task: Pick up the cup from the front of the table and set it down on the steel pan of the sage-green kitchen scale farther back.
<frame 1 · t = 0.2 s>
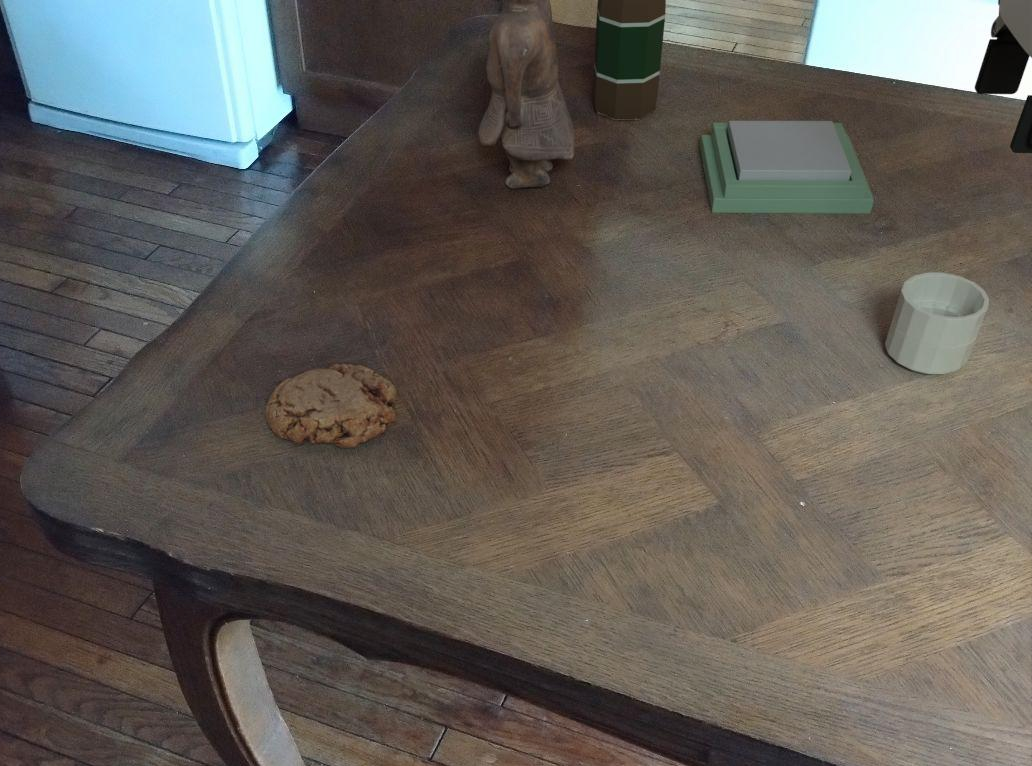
hand: (1012, 120, 80), 19 cm above the table, tool pointing down, fingers open, 9 cm apart
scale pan: (786, 150, 110), point 3 cm above the table, slide at 0.0 cm
clay figurine: (527, 180, 114), on the table
scale: (781, 179, 113), on the table
cup: (924, 354, 91), on the table
beer bottle: (623, 109, 125), on the table
cookie: (334, 418, 87), on the table
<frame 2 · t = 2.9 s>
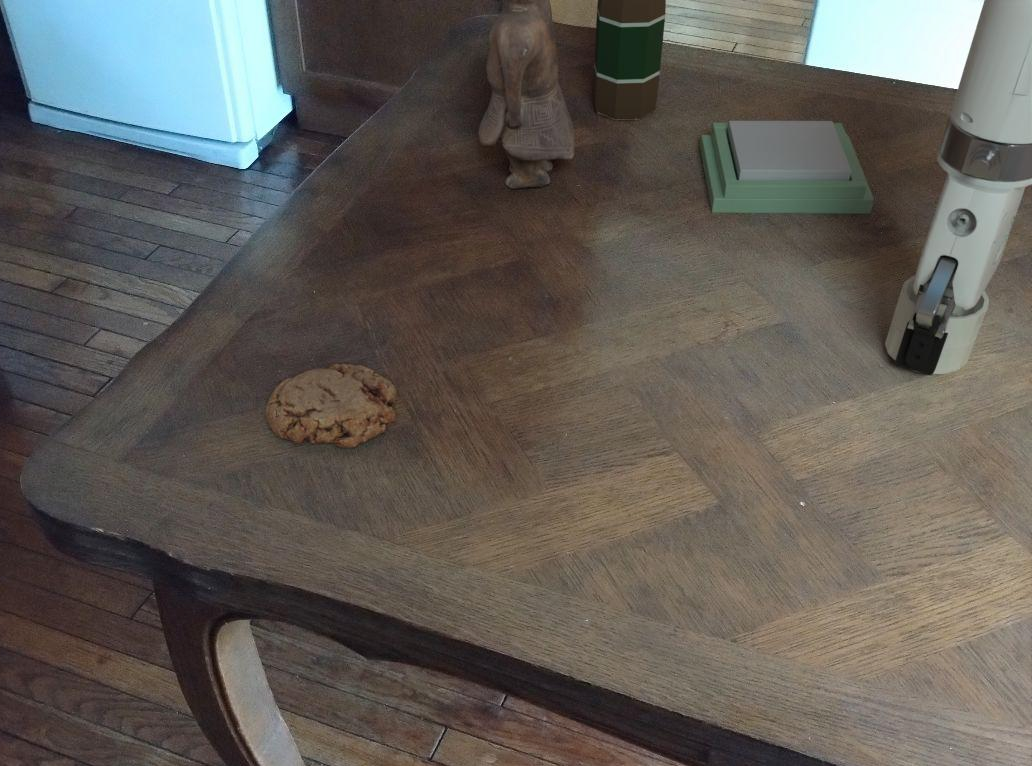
hand: (928, 343, 91), 1 cm above the table, tool pointing down, fingers closed on cup, 7 cm apart
cup: (924, 354, 91), on the table, touching gripper
everything else where it was.
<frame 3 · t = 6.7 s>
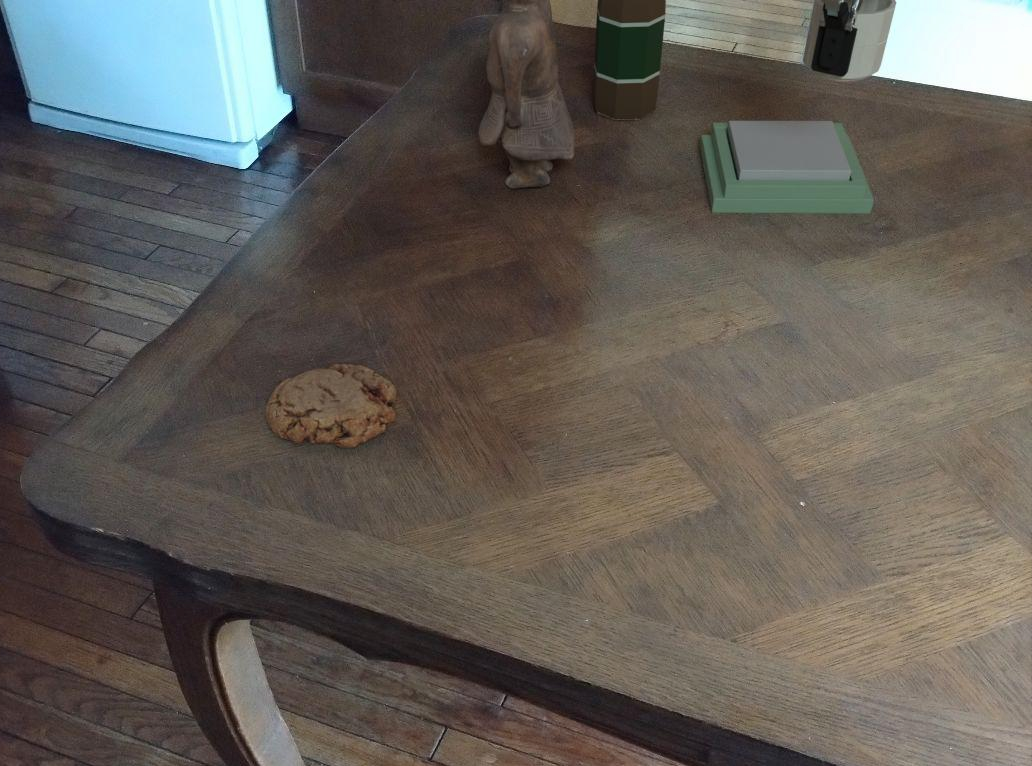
hand: (843, 55, 96), 16 cm above the table, tool pointing down, fingers closed on cup, 7 cm apart
cup: (840, 68, 97), point 15 cm above the table, touching gripper
everything else where it was.
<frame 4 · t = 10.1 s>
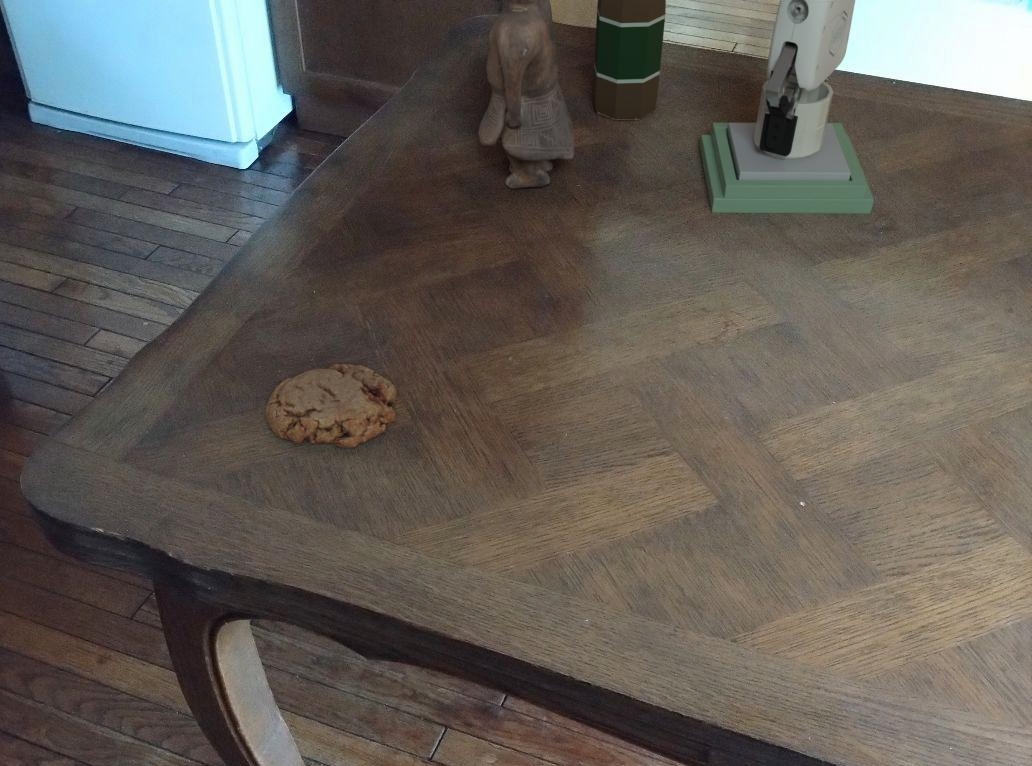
hand: (789, 135, 109), 5 cm above the table, tool pointing down, fingers closed on cup, 7 cm apart
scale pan: (786, 152, 110), point 3 cm above the table, slide at -0.2 cm, touching cup
cup: (786, 146, 110), point 4 cm above the table, touching gripper, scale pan
everything else where it was.
when the fingers open (5 cm above the table, at t = 10.4 s): cup stays where it is, resting on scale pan.
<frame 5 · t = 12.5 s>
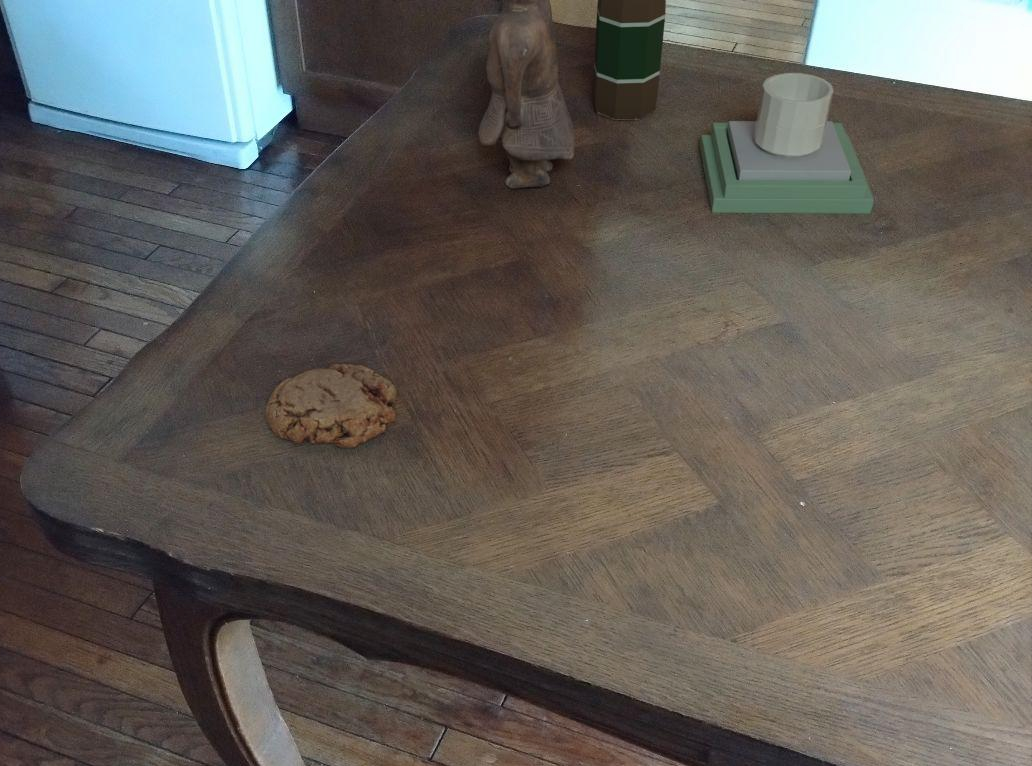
cup: (787, 144, 110), point 4 cm above the table, touching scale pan
everything else where it was.
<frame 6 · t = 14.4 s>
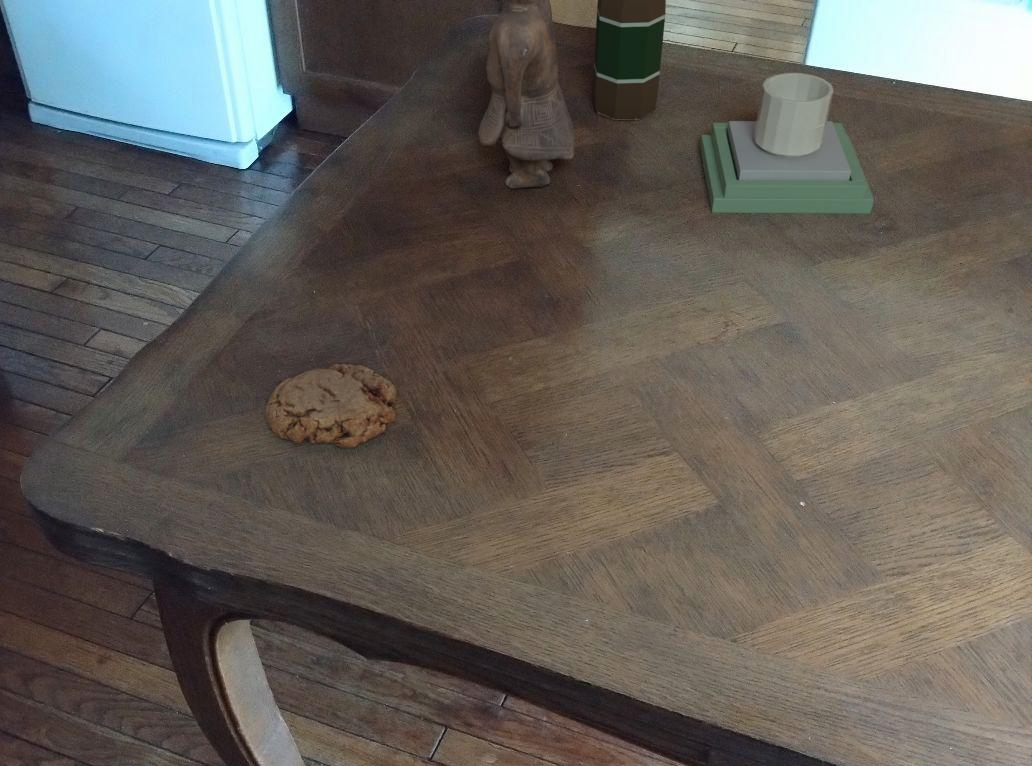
nothing on the table moved.
at the end: cup inside the target area on the scale (0.1 cm from its centre), point 3.9 cm above the scale's base; cup tilted 0°; the gripper is holding nothing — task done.
